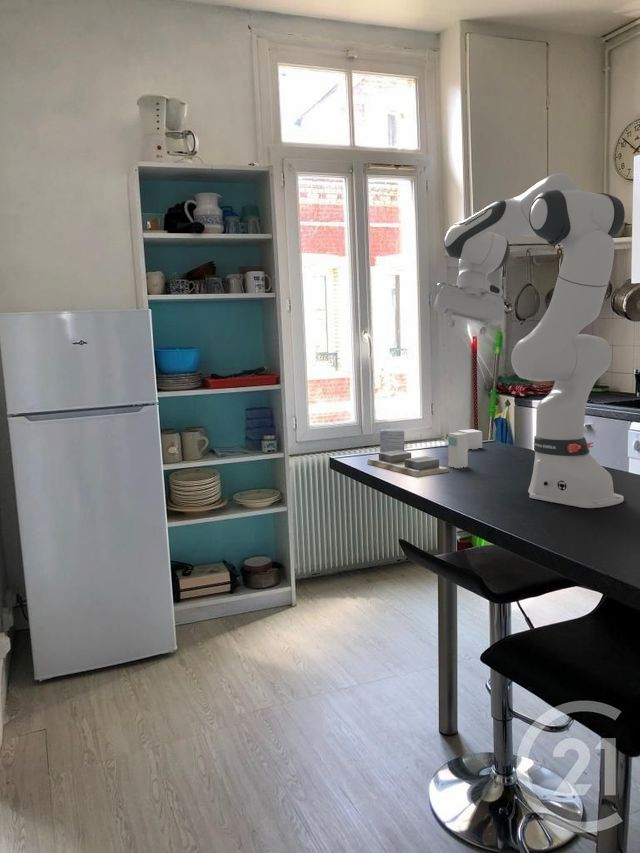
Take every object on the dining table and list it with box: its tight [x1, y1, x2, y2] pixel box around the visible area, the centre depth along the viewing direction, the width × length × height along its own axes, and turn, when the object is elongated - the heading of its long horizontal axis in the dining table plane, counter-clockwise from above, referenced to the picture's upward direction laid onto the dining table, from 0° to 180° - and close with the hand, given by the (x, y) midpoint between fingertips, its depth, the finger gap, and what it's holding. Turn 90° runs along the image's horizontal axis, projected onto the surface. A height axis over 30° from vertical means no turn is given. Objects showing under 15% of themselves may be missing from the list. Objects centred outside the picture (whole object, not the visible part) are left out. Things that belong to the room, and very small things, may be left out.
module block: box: [447, 431, 469, 469], centre depth 208 cm, size 4×4×10 cm
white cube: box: [457, 428, 483, 451], centre depth 239 cm, size 6×6×6 cm
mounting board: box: [367, 450, 450, 478], centre depth 208 cm, size 24×12×4 cm, turn 31°
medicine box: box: [379, 428, 405, 453], centre depth 228 cm, size 8×4×9 cm, turn 84°
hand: (467, 330), depth 198 cm, fingers open, 8 cm apart
